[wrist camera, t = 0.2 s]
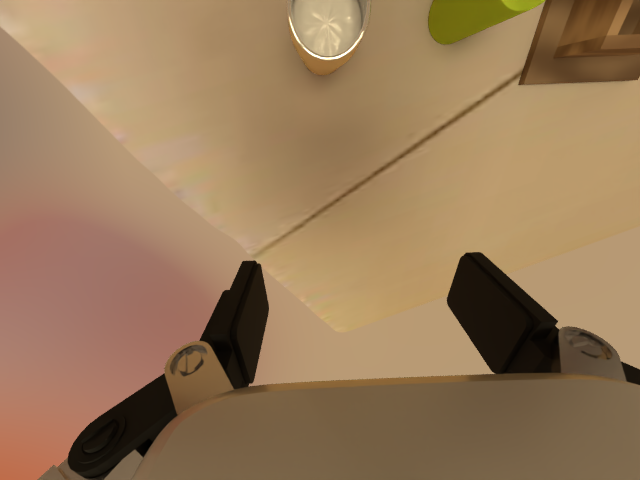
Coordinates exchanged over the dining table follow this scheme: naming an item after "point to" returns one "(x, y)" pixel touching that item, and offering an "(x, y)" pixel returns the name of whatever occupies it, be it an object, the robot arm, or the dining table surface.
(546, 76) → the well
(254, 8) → the dining table surface
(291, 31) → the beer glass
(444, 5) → the soap dispenser
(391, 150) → the dining table surface
